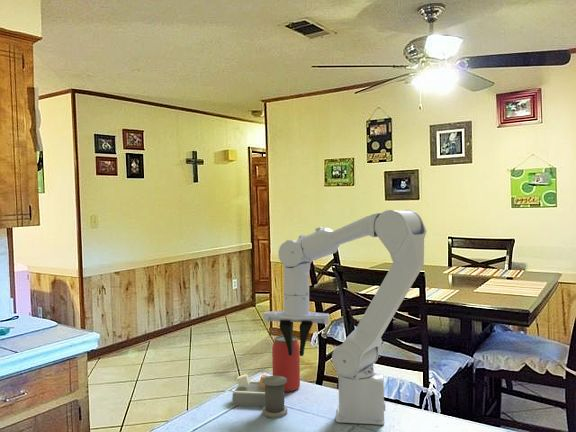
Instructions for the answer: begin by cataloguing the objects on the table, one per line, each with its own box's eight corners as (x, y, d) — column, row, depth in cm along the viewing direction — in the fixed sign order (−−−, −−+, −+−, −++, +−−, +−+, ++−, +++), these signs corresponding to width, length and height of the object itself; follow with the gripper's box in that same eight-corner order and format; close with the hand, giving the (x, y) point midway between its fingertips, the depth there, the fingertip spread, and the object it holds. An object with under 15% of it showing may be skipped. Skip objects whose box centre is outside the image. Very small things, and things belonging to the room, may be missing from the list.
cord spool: (289, 408, 106) (288, 376, 106) (285, 418, 101) (284, 384, 101) (265, 407, 107) (264, 375, 107) (260, 417, 102) (259, 383, 101)
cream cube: (250, 382, 112) (247, 373, 113) (248, 384, 111) (245, 376, 111) (241, 384, 113) (238, 376, 113) (239, 387, 111) (236, 378, 111)
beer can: (267, 390, 117) (267, 339, 117) (280, 381, 123) (280, 333, 123) (292, 394, 114) (291, 342, 114) (304, 385, 120) (304, 336, 120)
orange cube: (269, 385, 112) (271, 377, 112) (267, 388, 110) (270, 380, 110) (260, 382, 112) (262, 374, 112) (258, 385, 111) (261, 376, 110)
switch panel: (275, 393, 115) (275, 381, 115) (268, 406, 107) (268, 393, 107) (241, 391, 116) (241, 380, 116) (232, 404, 108) (232, 392, 108)
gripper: (330, 291, 113) (330, 350, 113) (268, 289, 115) (268, 347, 115) (327, 297, 106) (327, 360, 106) (261, 295, 108) (261, 356, 108)
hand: (296, 354), depth 110 cm, fingers closed
